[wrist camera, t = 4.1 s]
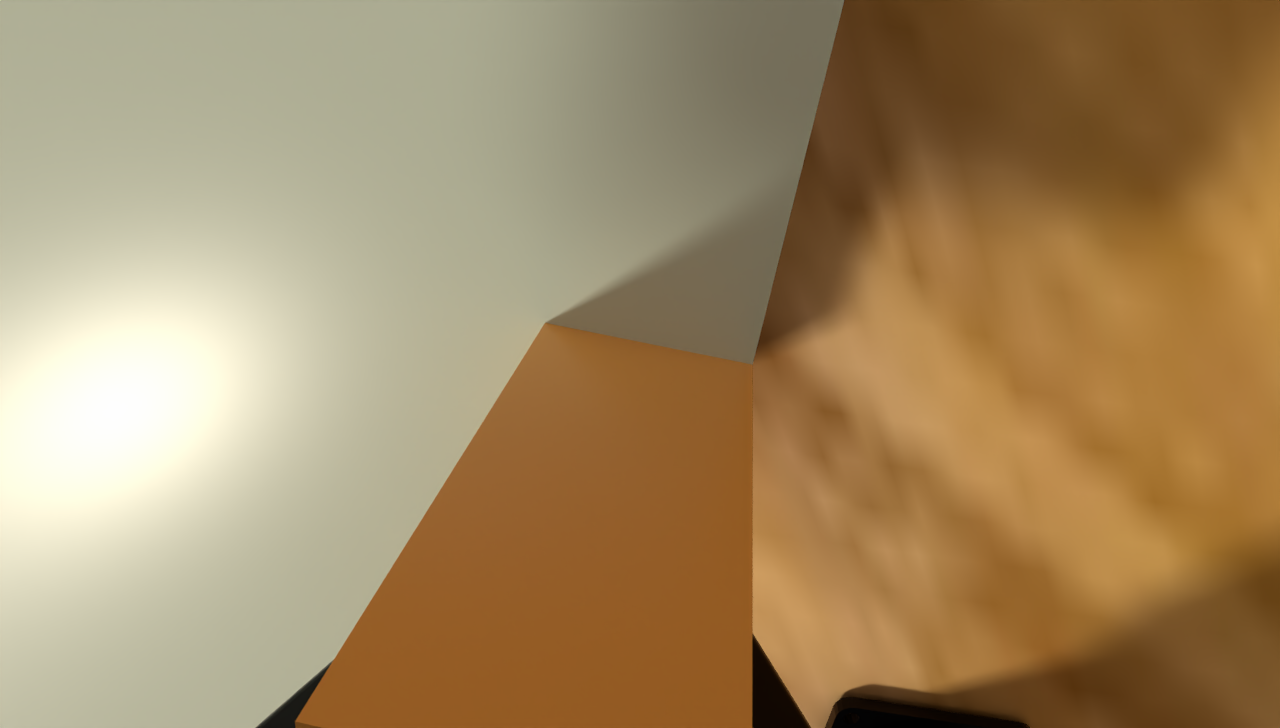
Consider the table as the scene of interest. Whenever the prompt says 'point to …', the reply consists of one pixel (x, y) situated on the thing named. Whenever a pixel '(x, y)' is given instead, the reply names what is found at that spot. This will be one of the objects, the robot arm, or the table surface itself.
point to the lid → (388, 355)
